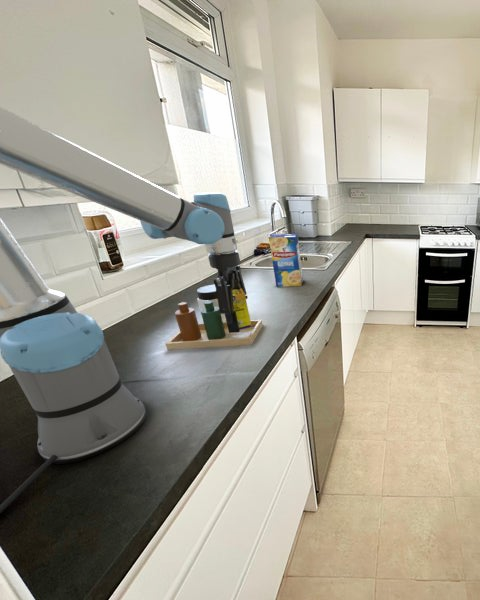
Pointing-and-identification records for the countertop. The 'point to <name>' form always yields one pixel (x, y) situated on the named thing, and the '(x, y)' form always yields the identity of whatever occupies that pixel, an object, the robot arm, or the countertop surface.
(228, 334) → the tray
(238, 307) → the supplement box
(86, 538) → the countertop surface
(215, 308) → the green bottle
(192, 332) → the amber bottle
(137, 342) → the countertop surface
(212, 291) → the jar
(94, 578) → the countertop surface
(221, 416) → the countertop surface
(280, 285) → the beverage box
